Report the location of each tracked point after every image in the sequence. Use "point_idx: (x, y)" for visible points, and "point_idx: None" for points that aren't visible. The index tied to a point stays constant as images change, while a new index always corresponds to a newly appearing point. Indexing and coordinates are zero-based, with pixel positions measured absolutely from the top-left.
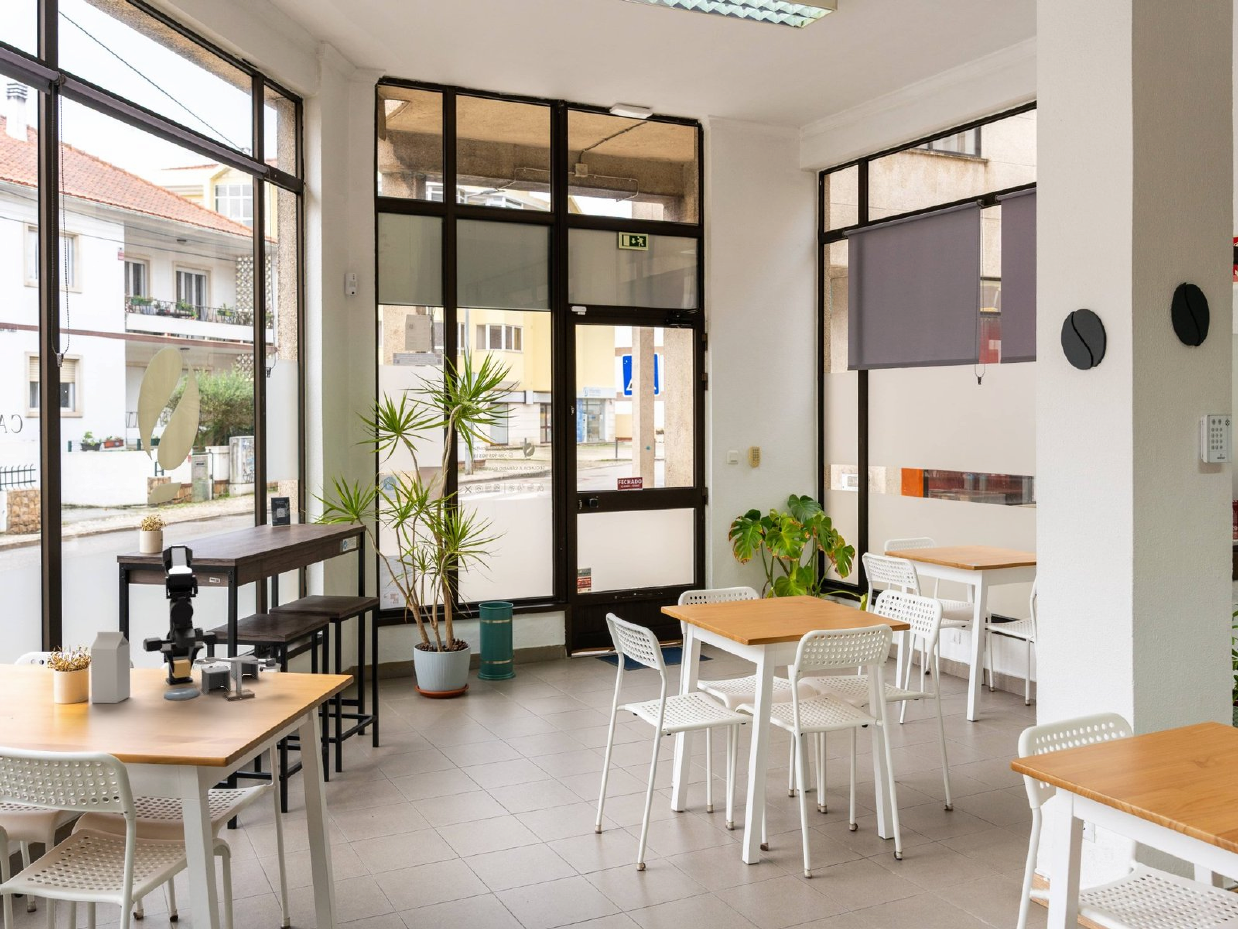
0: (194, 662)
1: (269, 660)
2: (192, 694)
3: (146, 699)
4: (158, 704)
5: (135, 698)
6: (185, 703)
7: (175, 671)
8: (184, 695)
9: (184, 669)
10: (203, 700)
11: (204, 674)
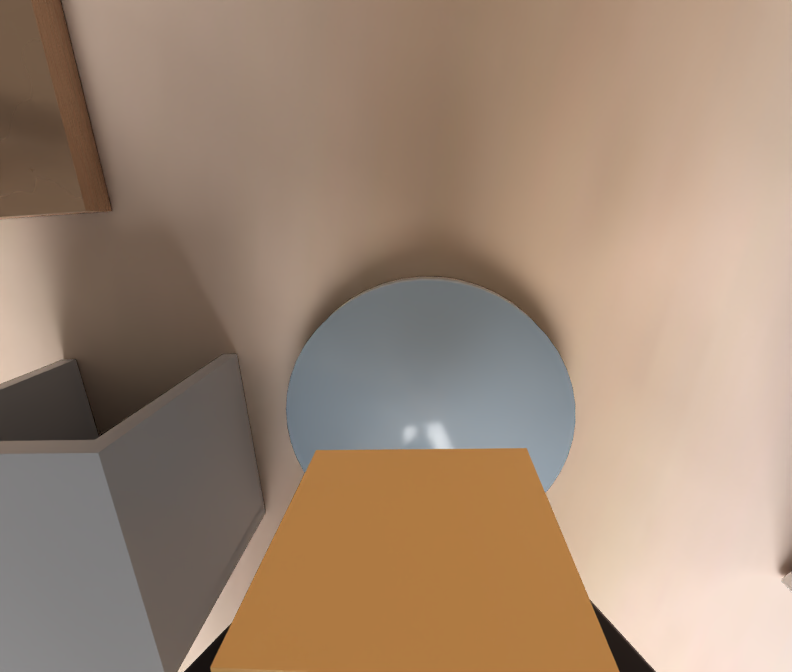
0: None
1: None
2: (351, 302)
3: (697, 445)
4: (670, 214)
5: (758, 518)
6: (443, 113)
7: (553, 519)
8: (424, 288)
9: (387, 528)
10: (278, 146)
11: (162, 539)
